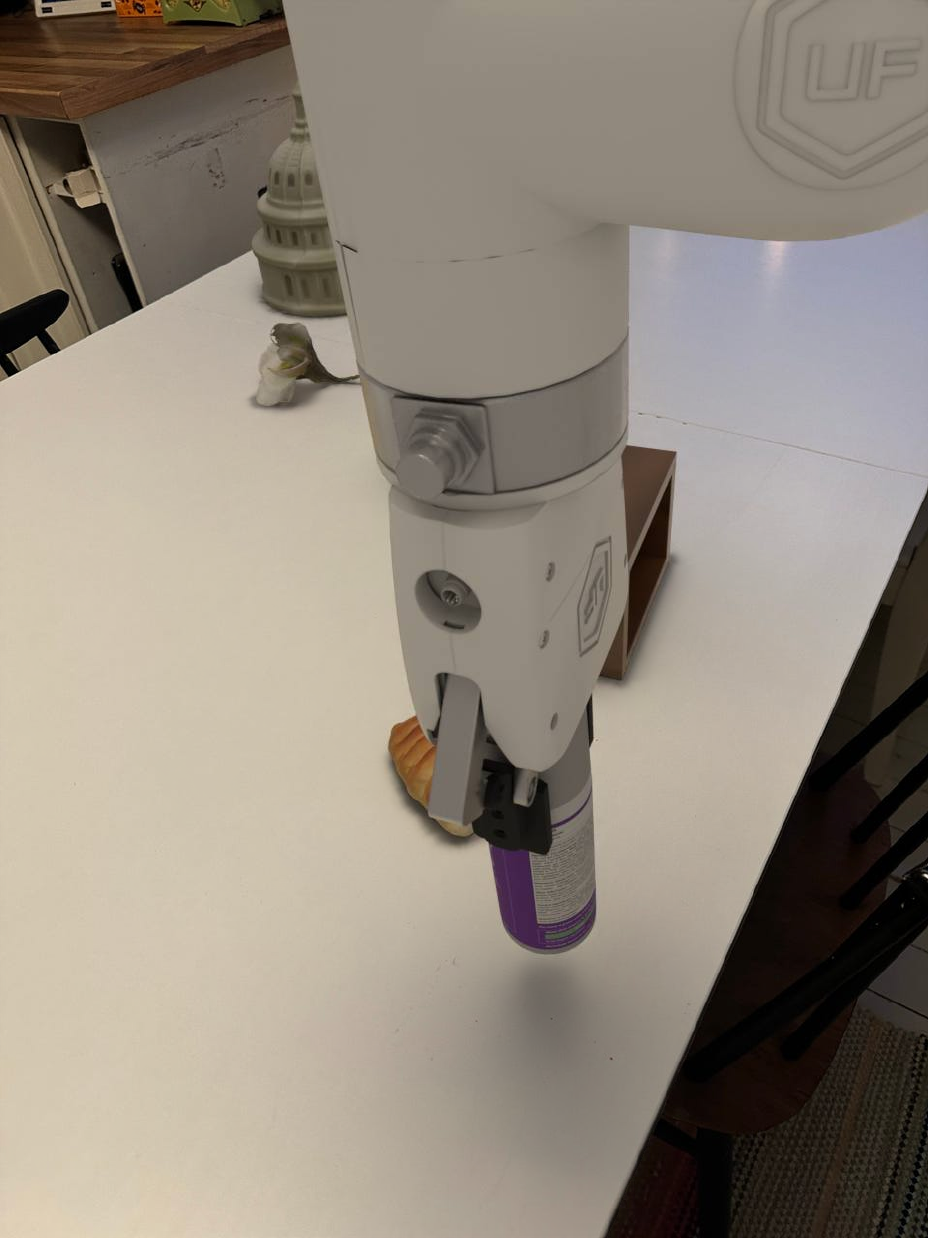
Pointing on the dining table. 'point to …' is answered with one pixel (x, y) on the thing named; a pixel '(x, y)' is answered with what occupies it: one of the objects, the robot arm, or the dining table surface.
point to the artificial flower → (290, 364)
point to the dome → (296, 231)
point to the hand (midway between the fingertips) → (535, 785)
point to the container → (553, 860)
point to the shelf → (643, 543)
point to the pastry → (417, 765)
